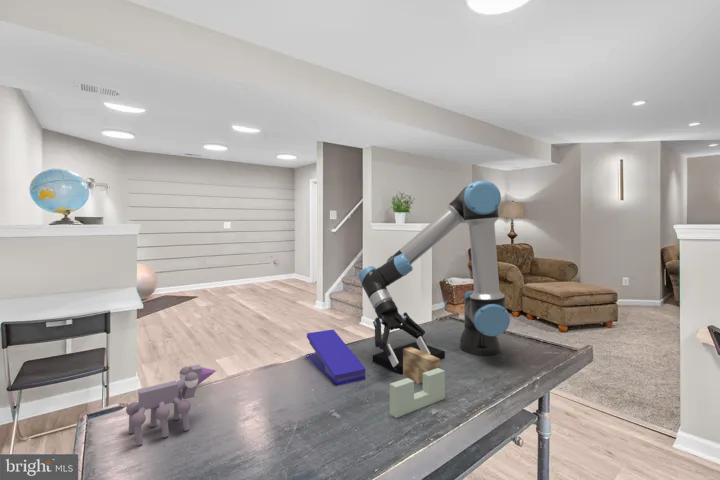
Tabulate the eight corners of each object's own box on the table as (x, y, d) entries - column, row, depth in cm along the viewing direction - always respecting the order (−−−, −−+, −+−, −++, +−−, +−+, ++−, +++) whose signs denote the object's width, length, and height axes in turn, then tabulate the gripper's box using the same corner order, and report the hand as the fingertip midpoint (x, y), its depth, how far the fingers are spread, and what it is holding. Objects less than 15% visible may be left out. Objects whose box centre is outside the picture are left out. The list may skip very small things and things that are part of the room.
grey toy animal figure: (212, 404, 98) (211, 356, 97) (224, 421, 89) (222, 368, 89) (126, 430, 86) (124, 375, 85) (130, 452, 77) (128, 391, 77)
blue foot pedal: (331, 352, 138) (331, 327, 138) (367, 379, 114) (367, 349, 114) (303, 358, 133) (303, 332, 132) (335, 387, 108) (335, 356, 108)
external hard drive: (444, 359, 131) (444, 351, 131) (400, 376, 117) (400, 367, 117) (416, 348, 142) (416, 341, 142) (372, 363, 128) (372, 354, 128)
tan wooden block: (403, 375, 116) (403, 348, 115) (411, 373, 118) (411, 346, 117) (431, 391, 105) (432, 361, 105) (440, 388, 107) (440, 358, 107)
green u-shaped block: (438, 395, 103) (438, 367, 102) (444, 398, 100) (444, 370, 100) (389, 413, 92) (389, 383, 92) (395, 418, 90) (395, 387, 90)
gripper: (405, 306, 135) (434, 357, 123) (350, 316, 121) (376, 374, 109) (415, 295, 130) (445, 346, 118) (358, 303, 116) (386, 363, 104)
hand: (412, 360), depth 114 cm, fingers open, 13 cm apart
